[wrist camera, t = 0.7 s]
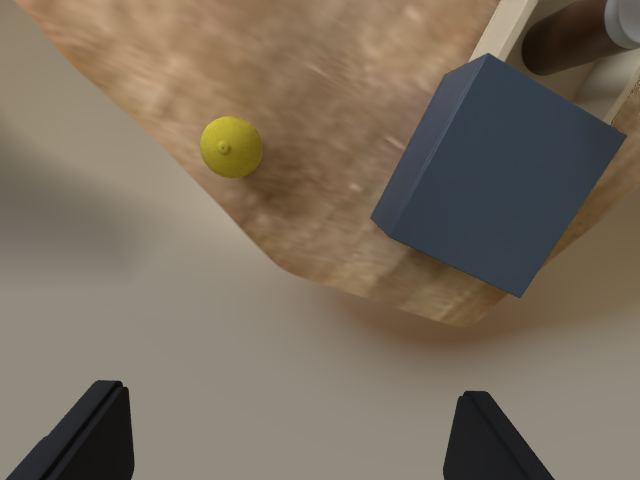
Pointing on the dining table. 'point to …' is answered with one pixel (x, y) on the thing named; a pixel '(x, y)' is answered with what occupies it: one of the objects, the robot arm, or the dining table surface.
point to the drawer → (572, 84)
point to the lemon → (231, 147)
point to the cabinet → (494, 173)
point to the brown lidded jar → (582, 35)
